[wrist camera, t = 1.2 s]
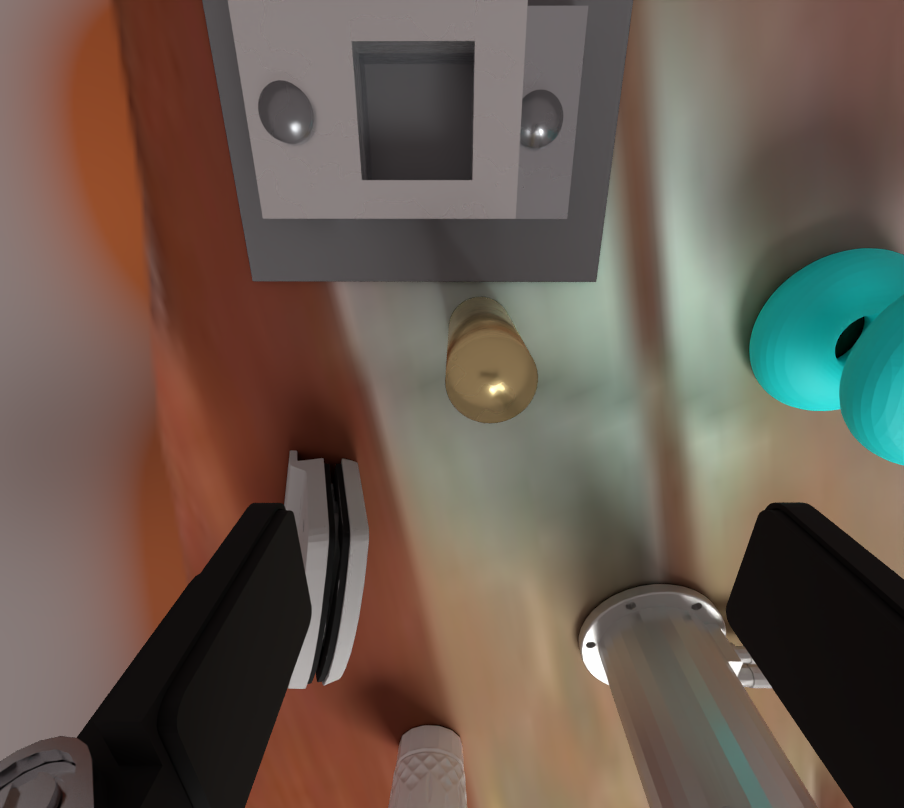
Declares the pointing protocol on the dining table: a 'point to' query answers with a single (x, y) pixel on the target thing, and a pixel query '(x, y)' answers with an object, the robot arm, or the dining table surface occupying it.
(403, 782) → the white cup
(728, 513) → the dining table surface
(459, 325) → the brass pin
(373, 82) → the mat
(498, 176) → the grey block with hole
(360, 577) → the white slotted device
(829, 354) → the donuts
